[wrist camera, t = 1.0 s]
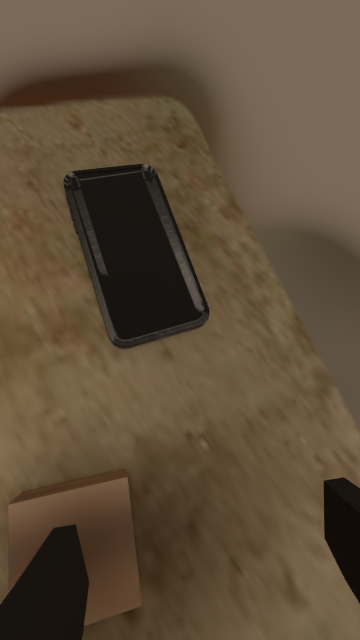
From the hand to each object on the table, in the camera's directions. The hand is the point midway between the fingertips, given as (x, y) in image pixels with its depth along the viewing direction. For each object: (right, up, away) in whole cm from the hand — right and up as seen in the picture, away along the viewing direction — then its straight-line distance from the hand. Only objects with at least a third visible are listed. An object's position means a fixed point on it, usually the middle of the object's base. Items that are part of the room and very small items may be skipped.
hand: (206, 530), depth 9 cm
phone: (-5, +11, +16) cm, 20 cm away
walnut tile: (-7, -7, +9) cm, 13 cm away
